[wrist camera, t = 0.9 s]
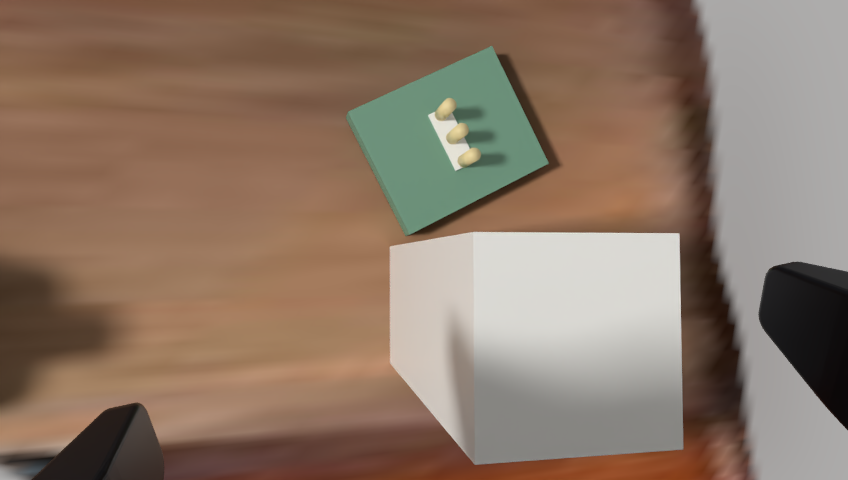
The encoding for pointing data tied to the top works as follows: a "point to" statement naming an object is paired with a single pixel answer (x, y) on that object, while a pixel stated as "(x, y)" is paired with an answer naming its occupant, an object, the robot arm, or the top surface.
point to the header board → (447, 140)
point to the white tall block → (542, 341)
